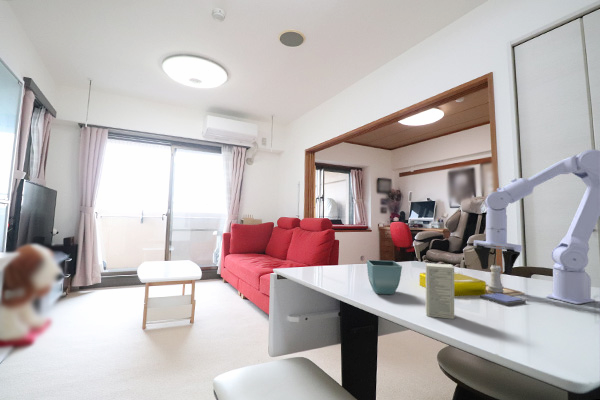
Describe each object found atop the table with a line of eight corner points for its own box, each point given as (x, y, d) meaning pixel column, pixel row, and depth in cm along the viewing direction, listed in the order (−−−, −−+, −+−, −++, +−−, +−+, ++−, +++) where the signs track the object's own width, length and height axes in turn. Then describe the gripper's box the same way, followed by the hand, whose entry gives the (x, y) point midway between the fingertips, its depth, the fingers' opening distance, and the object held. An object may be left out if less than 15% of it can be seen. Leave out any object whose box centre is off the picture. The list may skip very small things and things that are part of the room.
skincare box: (452, 314, 76) (452, 264, 76) (454, 320, 72) (455, 267, 72) (424, 310, 78) (425, 262, 78) (425, 316, 74) (426, 265, 74)
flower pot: (402, 297, 90) (402, 266, 90) (371, 296, 90) (372, 265, 90) (393, 289, 98) (393, 260, 99) (365, 288, 99) (366, 260, 99)
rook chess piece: (506, 293, 94) (507, 267, 94) (490, 292, 95) (491, 266, 95) (500, 290, 98) (500, 264, 99) (484, 289, 99) (485, 264, 99)
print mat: (490, 285, 107) (490, 283, 107) (524, 293, 97) (524, 291, 97) (468, 287, 103) (468, 286, 103) (501, 297, 93) (501, 295, 93)
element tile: (446, 298, 91) (446, 281, 91) (416, 285, 106) (417, 271, 106) (489, 296, 94) (489, 280, 95) (454, 284, 109) (455, 270, 109)
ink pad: (497, 295, 94) (497, 292, 94) (525, 303, 87) (525, 299, 87) (479, 297, 91) (479, 294, 91) (507, 306, 84) (507, 302, 84)
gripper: (467, 227, 105) (467, 267, 105) (511, 230, 92) (511, 276, 92) (481, 227, 108) (481, 266, 108) (526, 230, 95) (525, 275, 94)
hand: (495, 271), depth 100 cm, fingers open, 7 cm apart
